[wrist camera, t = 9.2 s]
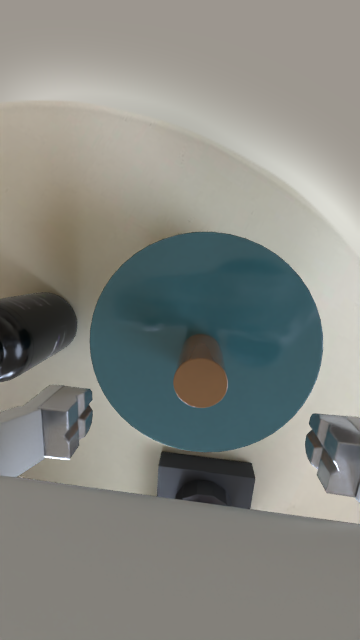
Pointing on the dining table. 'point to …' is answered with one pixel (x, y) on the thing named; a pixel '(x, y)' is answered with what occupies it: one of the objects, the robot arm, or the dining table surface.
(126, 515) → the robot arm
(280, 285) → the jar lid
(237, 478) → the box
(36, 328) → the supplement bottle
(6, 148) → the dining table surface
